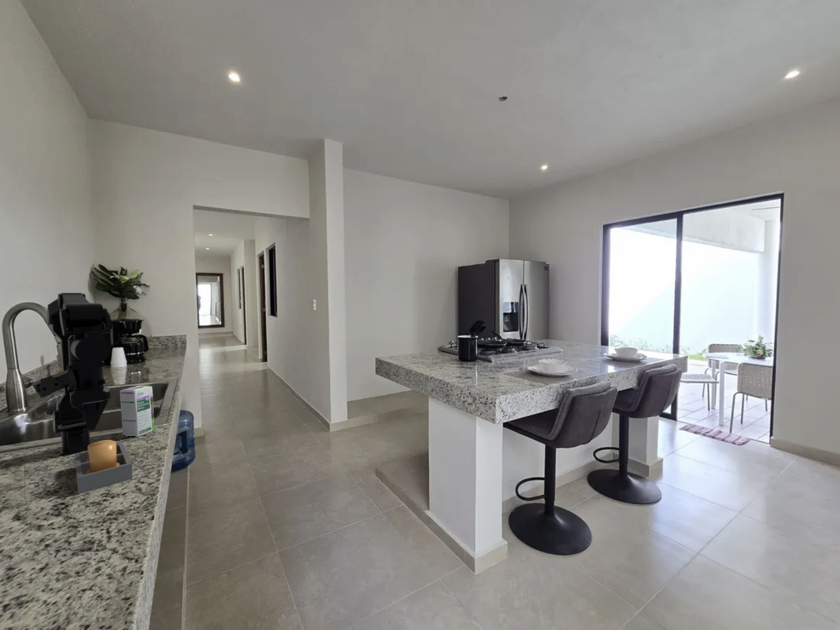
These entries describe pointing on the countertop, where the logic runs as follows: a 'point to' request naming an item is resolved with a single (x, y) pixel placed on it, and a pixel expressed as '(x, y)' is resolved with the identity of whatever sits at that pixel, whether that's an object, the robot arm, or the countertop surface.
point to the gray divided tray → (104, 476)
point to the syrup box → (137, 410)
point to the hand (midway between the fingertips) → (90, 425)
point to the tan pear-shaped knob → (102, 456)
